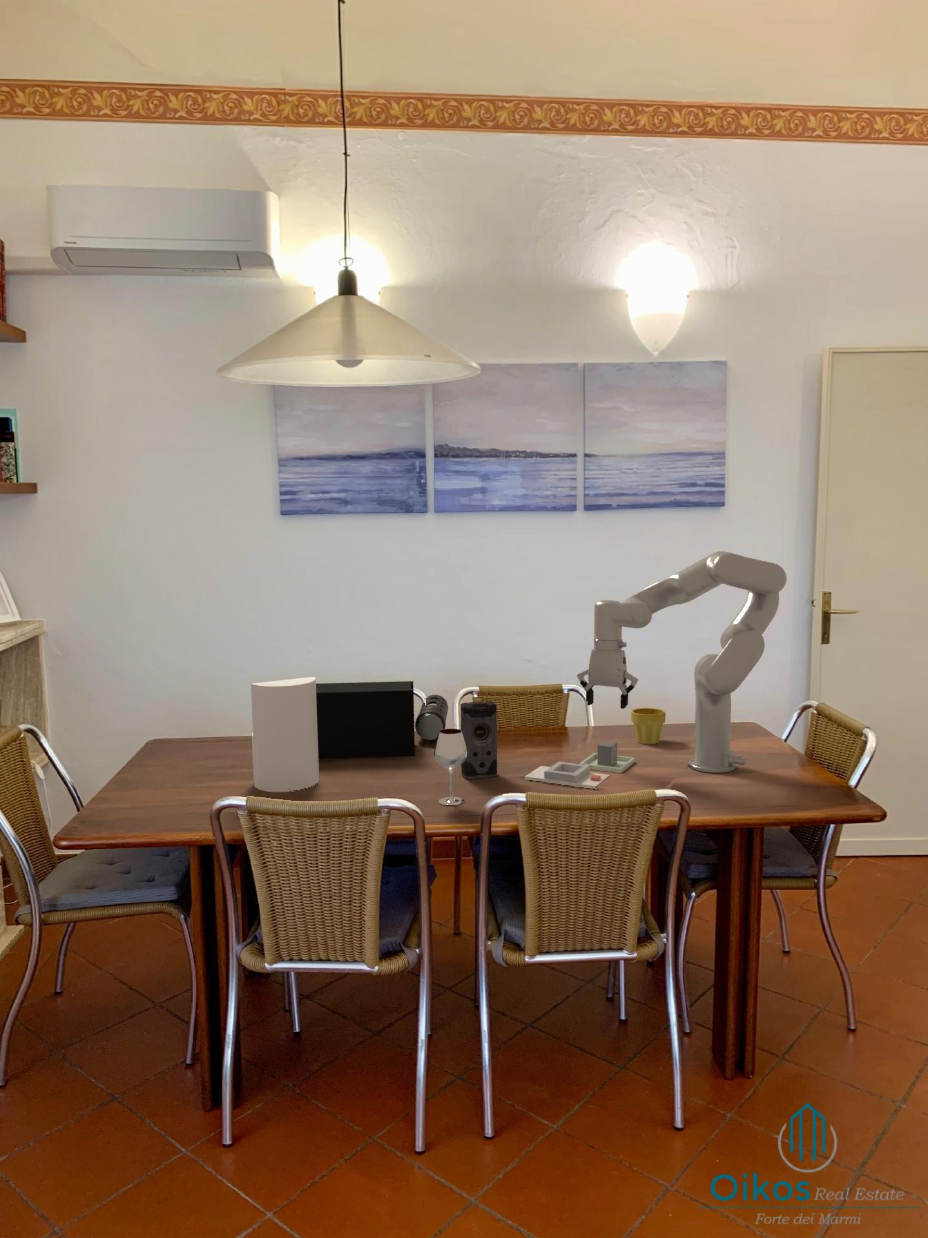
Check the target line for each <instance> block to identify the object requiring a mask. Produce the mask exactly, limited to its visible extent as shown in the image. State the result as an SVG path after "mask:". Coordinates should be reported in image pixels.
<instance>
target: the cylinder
mask: <svg viewBox="0 0 928 1238" xmlns="http://www.w3.org/2000/svg"><path fill="white" fill-rule="evenodd" d="M316 679H317V678H316V677H315V676H310V677H309V676H307V677H299V678H298V677H297V678H290V679H280V680H271V681H263V682H253V683H250V694H251V695H250V696H251V699H250V700H251V715H252V717H251V718H252V733H251V745H252V746H251V748H252V749H251V750H252V751H251V752H252V768H253V769H252V770H253V771H252V773H253V774H252V775H253V786H254V788H255V789H257V790H259V791H263V792H269V793H291V792H294V791H293V790H298V791H301V790H300V789H303V788H307V789H309V788H308V787H310V788H312V787H314V786H316V785H317V784H318V783H319V782H320V772H319V771H320V767H319V766H320V765H319V763H320V762H319V759H318V734H317V705H316V684H317V681H316ZM318 781H319V782H318ZM316 783H317V784H316ZM315 784H316V785H315ZM313 785H314V786H313ZM311 786H312V787H311ZM303 790H304V789H303ZM290 791H291V792H290Z"/></svg>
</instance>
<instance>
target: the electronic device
mask: <svg viewBox="0 0 928 1238" xmlns="http://www.w3.org/2000/svg"><path fill="white" fill-rule="evenodd" d="M497 717H498V713H497V704H496V703H495V702H494V701H491V700H483V701H469V702H467V701H466V702H463V703H460V730H462V733H463V736H464V740H465V744H466V748H467V757H466V760H465V761H464V763H463V764H462V765H461V766H460V768H461V769H460V770H461V771H460V772H461V775H462V776H463V777H464V778H465V779H466V778H467V779H468V780H474V779H475V780H476V778H477V779H483V777H487V778H494V776H495V777H497V775H498V720H497Z"/></svg>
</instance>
